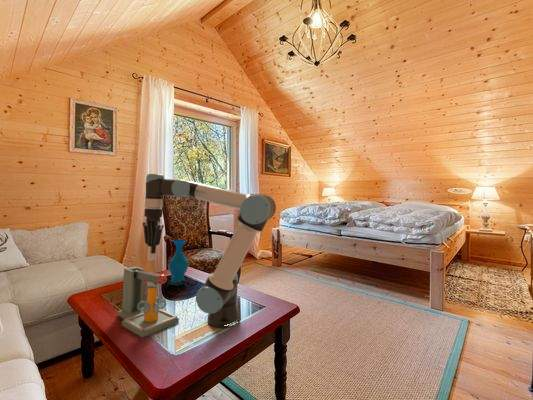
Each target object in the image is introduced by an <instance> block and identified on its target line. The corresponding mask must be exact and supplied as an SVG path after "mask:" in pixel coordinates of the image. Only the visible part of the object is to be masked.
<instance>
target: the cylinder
mask: <svg viewBox="0 0 533 400" xmlns="http://www.w3.org/2000/svg"><path fill="white" fill-rule="evenodd" d="M158 287H159V286H158ZM158 287H155V288H147V297H146V299H145V300H143V301H141V302H139V303H138V305H137V309H138V310H140V311H143V313H144V321H145V322H154V321H156V320H158V313H159V309H162V310H164V309H165V308H166V306H167V302H166V300H165V299H160V297H159V296H158ZM160 302H162V303H164V305H163V306H161V307H160V306H159V305H160ZM141 303H142V304H144V305H143V309H140V308H139V305H140V304H141Z"/></svg>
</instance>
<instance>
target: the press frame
mask: <svg viewBox="0 0 533 400" xmlns="http://www.w3.org/2000/svg"><path fill="white" fill-rule="evenodd" d="M133 270H142V271H145V268H141V267H139V266H132V267H126V268H123V280H122V281H123V283H122V284H123V285H122V289H123V290H122V302H121V303H122V305H121V310H118V311H117V316H118V317H120V318H121V319H123V320H122V321H121V326H122V327H123V328H125V329H127V330H128V331H130V332H132V333H133V334H135V335H137V336H139V337H140V338H144V337H147V336H150V335H152V334H155V333H157V332H159V331H162V330H164V329H166V328H168V327H169V328H170V327H171V326H174V325H176V324H178V323H180V321H179V319H180V318H179V317H178V315H176V314H175V315H174V314H172V313H171V312H168V311H166V310H164V309H159V313H158V320H156V321H154V322H145V321H144V313H143V311H140V310H138V309H137V305H138V303H139V302H141V301H144V300H143V297H144V295H143V294H144V281H145V280H141V279H137V278H134V271H133ZM139 308H140V309H143V308H144V306H143V303H141V304H140V305H139Z"/></svg>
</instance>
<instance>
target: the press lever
mask: <svg viewBox="0 0 533 400" xmlns="http://www.w3.org/2000/svg"><path fill="white" fill-rule="evenodd" d="M133 271H134V278H137V279H141V280H144V281H146V288H147V289H148V288H155V287H160V285H163V284H164V285H165V283H166V282H167V280H168V279H167V276H166V275H164V274H161V273H155V272H150V271H147V270H144V271H142V270H133Z"/></svg>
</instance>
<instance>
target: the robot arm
mask: <svg viewBox="0 0 533 400" xmlns="http://www.w3.org/2000/svg"><path fill="white" fill-rule="evenodd" d="M164 196H167V197H177V198H183V197H184V198H185V197H187V198H192V199H197V200H200V201H204V202H209V203H213V204H216V205H219V206H222V207H223V206H225V207H228V208H232V209H236V210H239V212H240V213H239V214H238V216H237V223H238V224H237V227H236V228H235V229H234V230H235V231H234V232H233V234H232V237H230V240H229V242H228V245H227V247H226V249H225V251H224V253H223V254H222V256H221V258H220V259H219V262H218V264H217V266H216V269H215V270H214V272H211V273H210V274H208V277H207V278H206V280H205V282H204V285H203V286H201V287H200V288H199V289H198V290H197V292H196V295H195V302H196V304H197V307H198V308H199V310H200V311H201V312H203V313H205V314H207V323H208V324H209V325H210V326H212V327H215V328H222V329H223V328H225V329H226V328H229V327H228V326H229V325H228V326H224V325H227V324H230V323H232V322H234V321H236V320H237V319H238V318H239V316H240V312H239V310H238V309H239V308H238V304H237V303H238V284H239V283H238V282H239V276H238V271H239V269H240V267H241V266H242V264H243V262H244V259H245V258H246V255H247V254H248V251H249V250H250V248H251V246H252V243H253V242H254V240H255V237H256V236H257V234H258V233H262V232H263V230H264V228H265V226H266V224H267V222H268V221H269V220H270V219H272V218H273V217H274V215H275V213H276V211H277V210H276V209H277V207H276V202H275V201H274V199H273V198H272V197H271V196H269V195H266V194H261V193H249V194H246V193H242V192H237V191H233V190H227V189H225V188H219V187H217V186H211V185H207V184H204V183H199V182H195V181H193V180H191V181H188V180H185V179H180V178H179V179H171V178H169V179H168V178H165V175H164V174H161V173H147V175H146V179H145V199H144V207H145V209H144V217H146V220H145V222H144V221H143V222H142V226H143V234H144V235H143V236H144V243H145V244H146V245H147V261H148V262H150V261H155V260H156V252H157V250H156V249H157V246H159V245H160V243H161V237H162V233H163V230H164V227H165V225H164V224H162V223H161V218H162V217H163V209H162V208H163V207H164V205H163V203H164ZM239 319H240V318H239Z"/></svg>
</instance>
